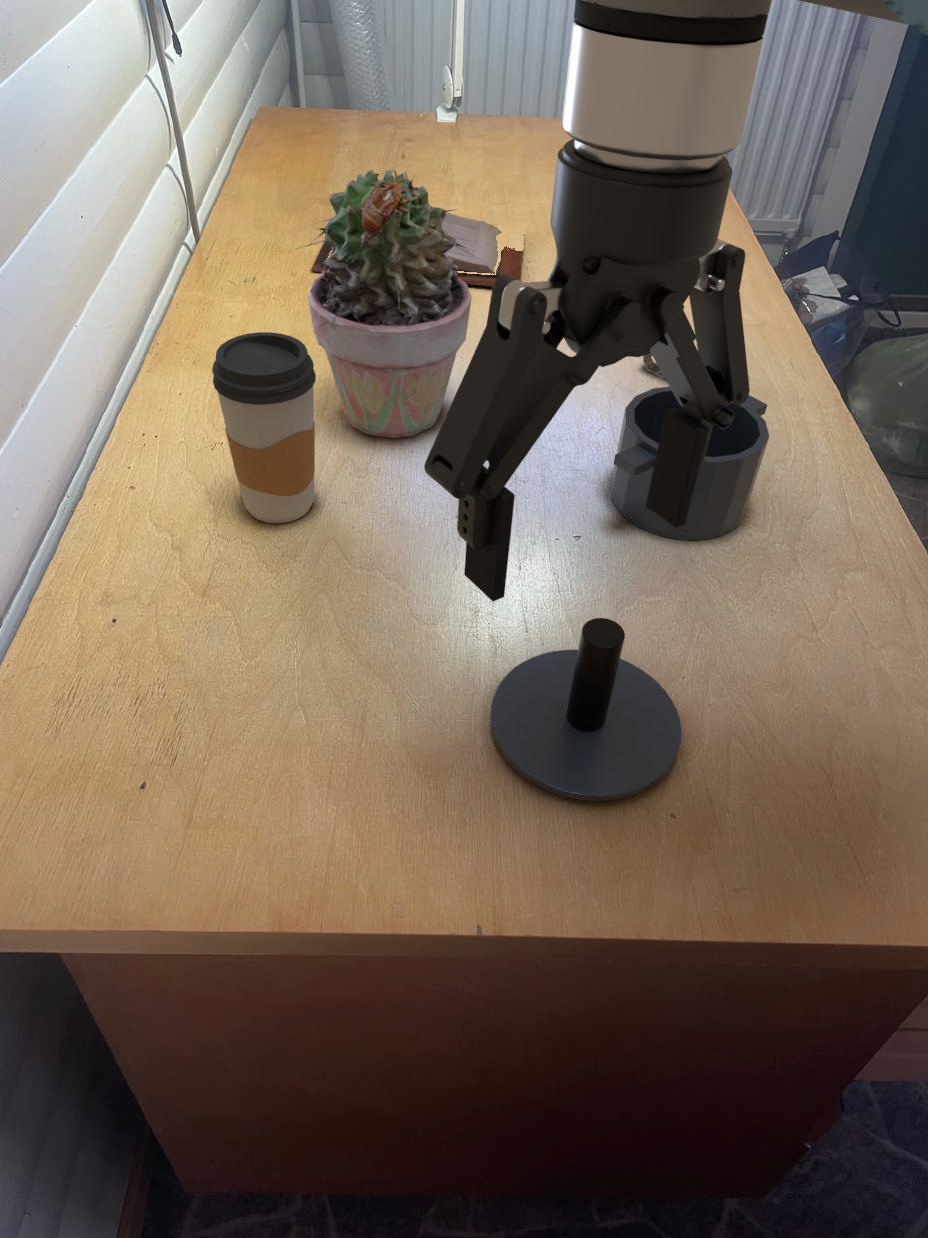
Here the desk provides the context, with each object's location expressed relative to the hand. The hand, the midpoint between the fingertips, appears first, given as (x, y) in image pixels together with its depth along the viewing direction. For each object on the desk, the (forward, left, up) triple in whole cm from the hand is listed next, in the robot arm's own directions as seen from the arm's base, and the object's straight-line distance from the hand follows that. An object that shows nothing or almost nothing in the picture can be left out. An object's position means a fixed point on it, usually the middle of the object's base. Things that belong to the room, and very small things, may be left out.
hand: (579, 549), depth 53 cm
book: (+74, -45, -18) cm, 88 cm away
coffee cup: (+35, +1, -18) cm, 40 cm away
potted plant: (+43, -17, -18) cm, 50 cm away
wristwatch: (+31, -47, -18) cm, 59 cm away
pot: (+14, -30, -18) cm, 38 cm away
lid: (-1, -3, -17) cm, 17 cm away
